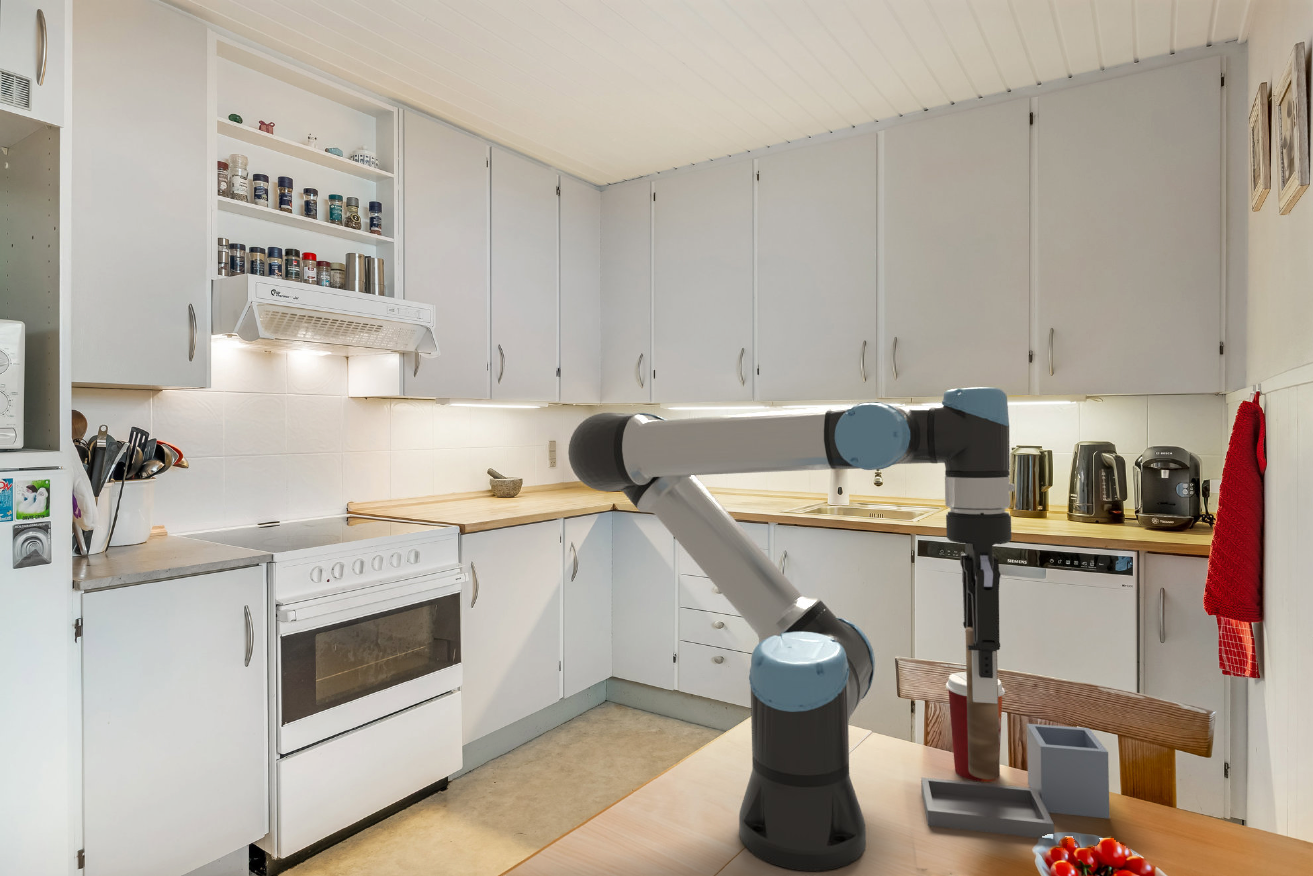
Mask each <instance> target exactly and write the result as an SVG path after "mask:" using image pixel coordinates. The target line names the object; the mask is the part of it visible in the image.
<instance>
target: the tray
mask: <svg viewBox="0 0 1313 876" xmlns="http://www.w3.org/2000/svg"><path fill="white" fill-rule="evenodd" d="M920 780H921V781H920V782H921V783H920V784H921V785H920V787H921V789H920V790H921V795H922V800H923V801H922V802H923V807H924V811H925V817H926V822H927V826H930V827H937V828H938V827H939V828H947V829H948V828H949V829H954V830H955V829H957V830H965V831H974V832H975V831H976V832H982V833H983V832H984V833H991V834H992V833H993V834H1000V835H1008V836H1009V835H1011V836H1016V837H1017V836H1018V837H1019V836H1020V837H1025V838H1026V837H1027V838H1036V839H1043V838H1042V836H1045V835H1047V834H1054V835H1055V824H1054V822H1053V820H1052V818H1051V815H1050V812H1047V810H1046V808H1045V806H1044V804H1043V802H1042V800H1041V798H1040V796H1039V794H1038V792H1037V790H1036V788H1030V787H1024V786H1016V785H1015V786H1014V785H1004V784H995V783H986V782H976V781H963V780H953V779H945V778H944V779H942V778H931V777H920Z"/></svg>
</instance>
